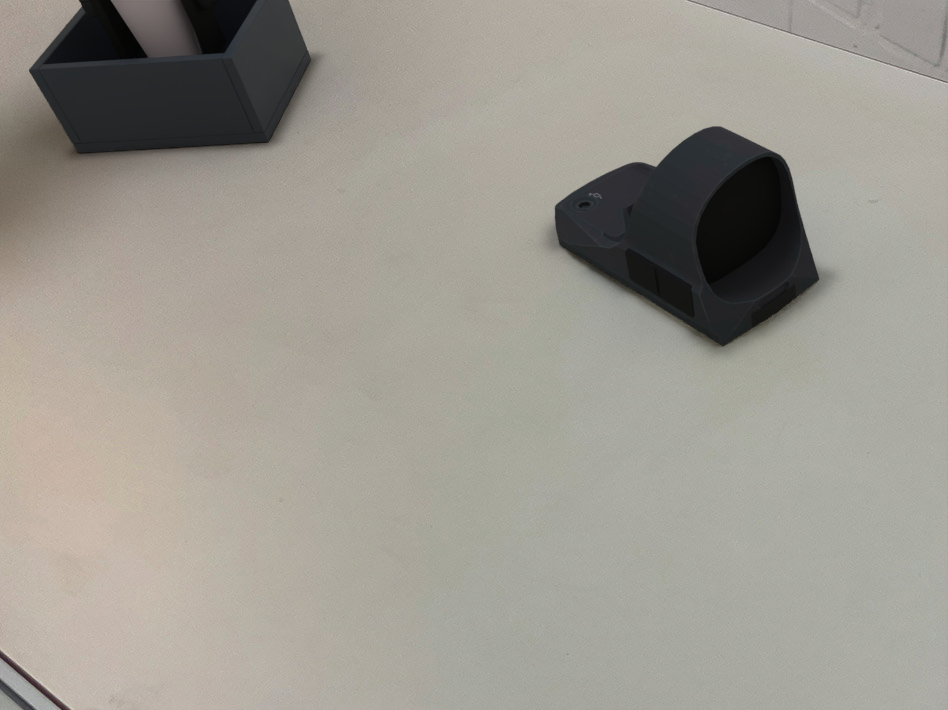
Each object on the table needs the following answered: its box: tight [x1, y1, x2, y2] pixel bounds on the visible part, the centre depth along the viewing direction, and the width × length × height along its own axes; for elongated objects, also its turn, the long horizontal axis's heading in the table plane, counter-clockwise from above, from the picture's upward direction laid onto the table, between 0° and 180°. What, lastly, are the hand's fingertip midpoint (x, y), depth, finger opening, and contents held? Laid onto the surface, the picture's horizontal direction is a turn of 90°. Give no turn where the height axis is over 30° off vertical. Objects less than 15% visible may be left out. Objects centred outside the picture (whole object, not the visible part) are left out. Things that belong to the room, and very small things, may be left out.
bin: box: [28, 0, 312, 154], centre depth 87 cm, size 16×14×7 cm
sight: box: [554, 125, 820, 347], centre depth 68 cm, size 9×18×10 cm, turn 45°
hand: (174, 51), depth 86 cm, fingers closed on smoothie, 6 cm apart
